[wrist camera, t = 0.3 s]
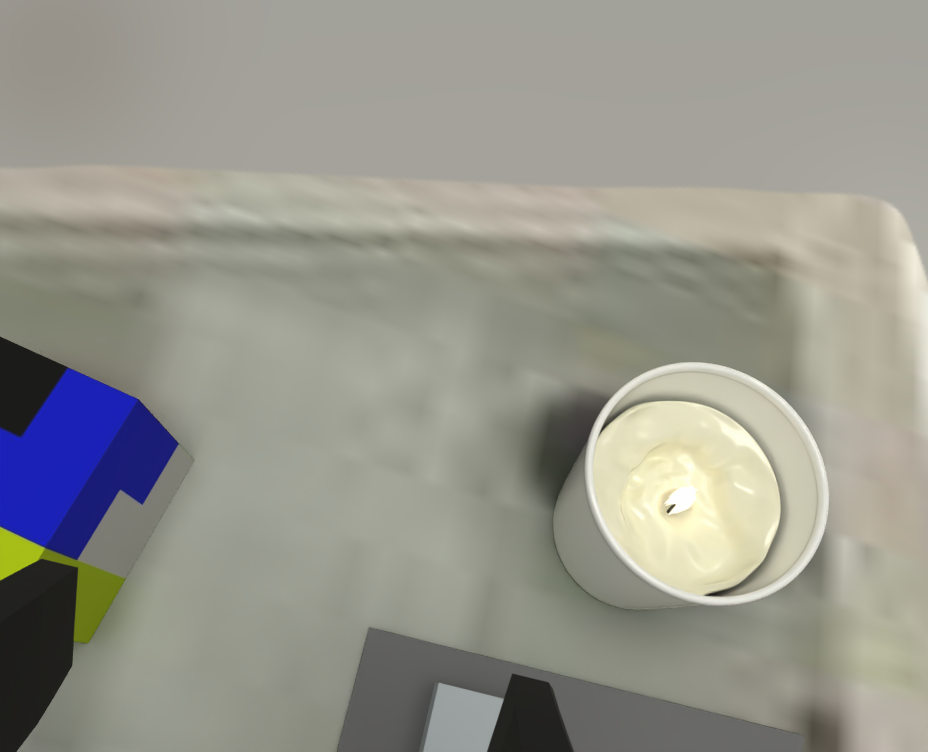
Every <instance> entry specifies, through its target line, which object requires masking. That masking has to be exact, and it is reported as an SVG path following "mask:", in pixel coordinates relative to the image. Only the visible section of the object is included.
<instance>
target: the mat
mask: <svg viewBox="0 0 928 752" xmlns="http://www.w3.org/2000/svg"><path fill="white" fill-rule="evenodd" d="M512 673H513V674H517V675H521V676H525V677H529V678H533V679H537V680H541V681H546V682H549V683H550V685H551V687H552V688H553V690H554V694H555V697H556V700H557V703H558V707H559V710H560V713H561V716H562V719H563V722H564V725H565V728H566V730H567V733H568V736H569V739H570V741H571V744H572V747H573V750H574V752H802V751H803V737H804V736H803V735H799V734H795V733H791V732H787V731H783V730H779V729H775V728H771V727H767V726H763V725H759V724H755V723H751V722H747V721H743V720H739V719H735V718H731V717H727V716H723V715H719V714H715V713H711V712H707V711H703V710H699V709H695V708H691V707H687V706H683V705H679V704H675V703H671V702H667V701H663V700H659V699H655V698H651V697H647V696H643V695H639V694H635V693H631V692H627V691H623V690H619V689H615V688H611V687H606V686H602V685H598V684H594V683H590V682H586V681H582V680H578V679H574V678H570V677H566V676H562V675H558V674H554V673H550V672H546V671H542V670H538V669H534V668H530V667H526V666H522V665H518V664H514V663H510V662H506V661H502V660H498V659H494V658H490V657H486V656H482V655H478V654H474V653H470V652H466V651H462V650H458V649H454V648H450V647H446V646H442V645H438V644H434V643H430V642H426V641H422V640H418V639H414V638H410V637H406V636H402V635H398V634H394V633H390V632H386V631H382V630H378V629H374V628H369V631H368V635H367V639H366V643H365V647H364V650H363V654H362V658H361V662H360V666H359V669H358V673H357V677H356V681H355V685H354V688H353V692H352V696H351V700H350V704H349V707H348V711H347V715H346V719H345V722H344V726H343V730H342V734H341V738H340V741H339V745H338V749H337V752H419V749H420V744H421V740H422V736H423V731H424V727H425V723H426V718H427V714H428V709H429V705H430V701H431V696H432V692H433V688H434V683H442V684H446V685H450V686H454V687H458V688H462V689H466V690H470V691H474V692H478V693H482V694H486V695H490V696H494V697H498V698H502V699H504V697H505V694H506V691H507V688H508V685H509V682H510V679H511V676H512Z"/></svg>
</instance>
